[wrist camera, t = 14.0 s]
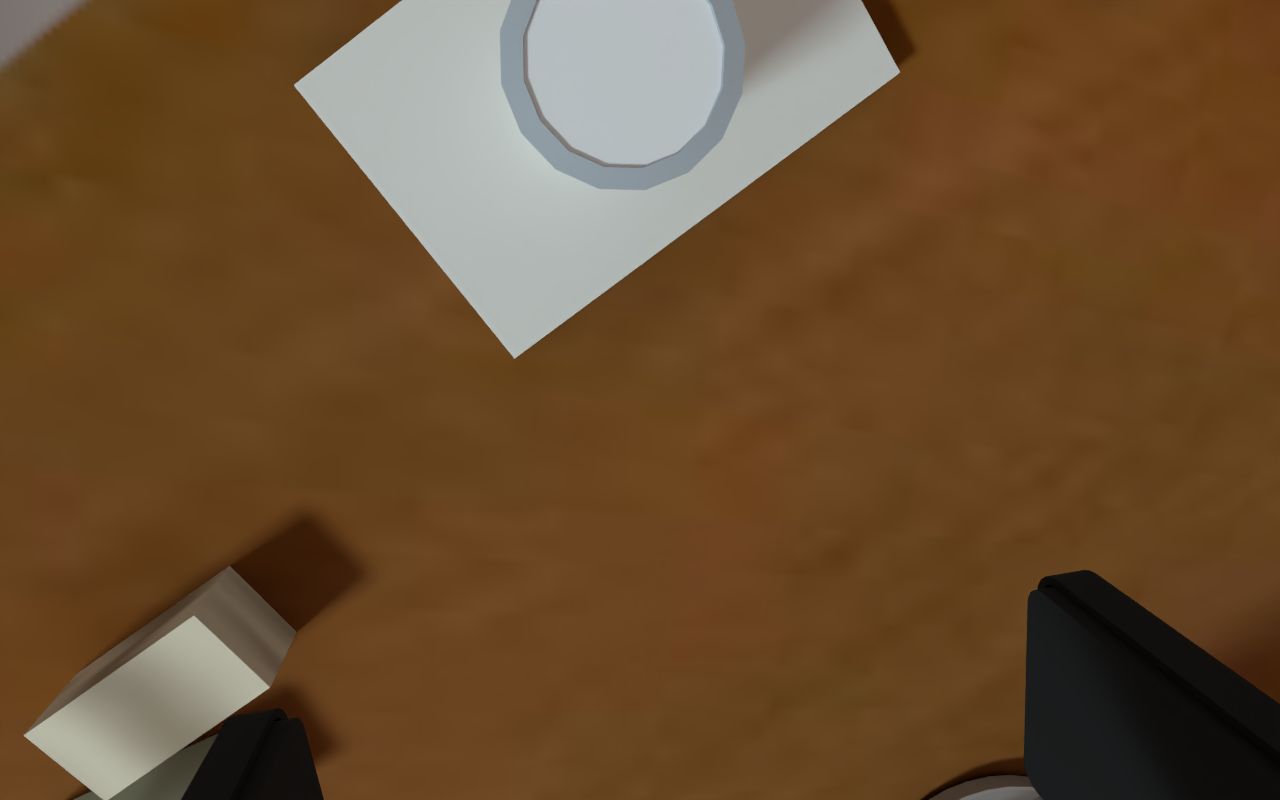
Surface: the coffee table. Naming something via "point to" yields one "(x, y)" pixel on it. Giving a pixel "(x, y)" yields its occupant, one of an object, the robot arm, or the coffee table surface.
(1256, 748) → the robot arm
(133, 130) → the coffee table surface
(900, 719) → the coffee table surface
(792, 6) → the ceramic tile
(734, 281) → the coffee table surface
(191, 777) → the sage block
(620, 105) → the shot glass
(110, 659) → the birch block
